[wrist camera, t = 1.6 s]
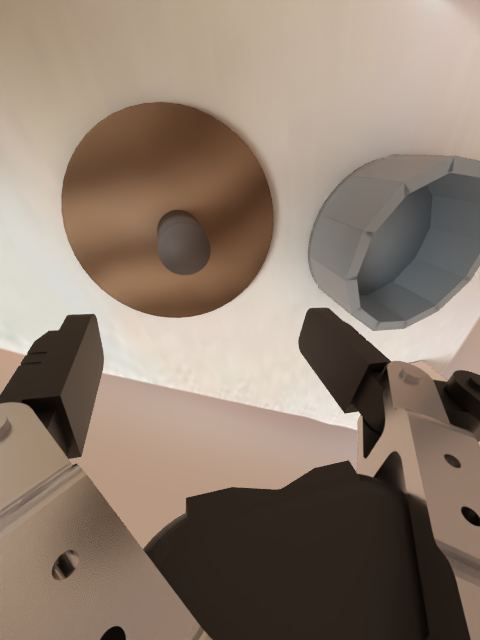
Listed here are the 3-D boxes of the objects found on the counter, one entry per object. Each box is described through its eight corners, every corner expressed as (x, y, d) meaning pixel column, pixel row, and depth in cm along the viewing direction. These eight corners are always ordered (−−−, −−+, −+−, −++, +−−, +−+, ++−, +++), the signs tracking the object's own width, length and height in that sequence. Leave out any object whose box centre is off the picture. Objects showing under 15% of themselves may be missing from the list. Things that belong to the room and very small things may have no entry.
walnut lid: (6, 173, 18) (-51, 182, 13) (223, 57, 18) (250, 21, 13) (149, 337, 28) (148, 378, 23) (289, 264, 28) (318, 290, 23)
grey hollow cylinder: (292, 202, 24) (335, 218, 18) (436, 127, 24) (523, 119, 18) (322, 318, 33) (357, 352, 27) (427, 263, 33) (484, 287, 27)
